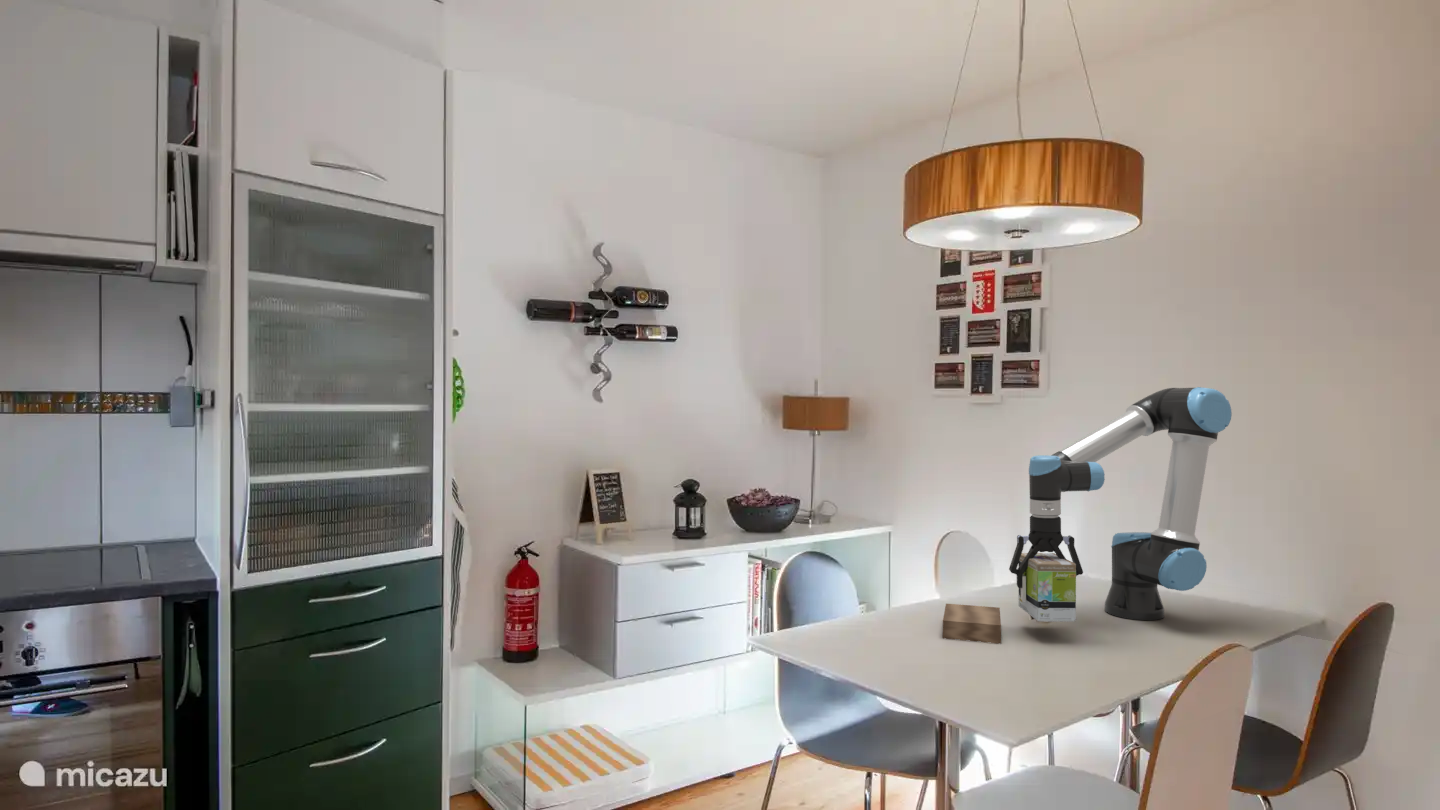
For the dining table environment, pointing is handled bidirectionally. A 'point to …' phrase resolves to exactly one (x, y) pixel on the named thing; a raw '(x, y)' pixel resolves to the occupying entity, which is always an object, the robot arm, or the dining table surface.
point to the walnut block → (972, 623)
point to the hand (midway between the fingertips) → (1045, 600)
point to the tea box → (1049, 588)
